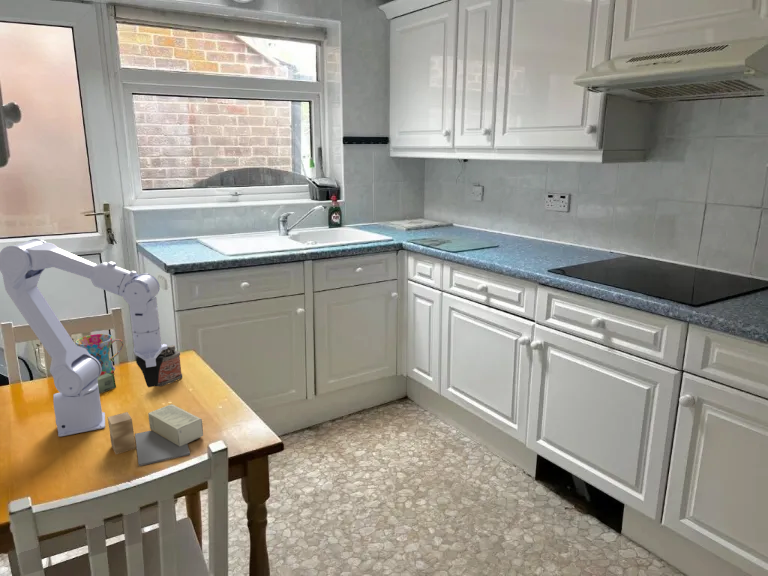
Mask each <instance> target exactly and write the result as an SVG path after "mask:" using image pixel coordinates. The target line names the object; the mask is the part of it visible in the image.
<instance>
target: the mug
mask: <svg viewBox="0 0 768 576" xmlns="http://www.w3.org/2000/svg"><path fill="white" fill-rule="evenodd" d="M117 341H119V342H120V343H121V345H120V348H119V350H118V351H117V352H116V353H115V354H114V355H113V356H112V357H111V356H110V355H111V354H110V352H111V351H110V350H111V348H112V344H113V343H114V342H117ZM74 343H75V345H76V346H79V347H82V348H85V349H86V350H87V351H88V352H89V354H90V355H91V356H93V357H94V358H96V359H97V360H98V361H99V362H100V364H101V367H102V371H101V374H100V376H101V375H103V374H106V373H112V374H114V372H115V370H116V367H115V366H114V365H113V363H112V362H115V360H114V358H115V357H117V356H118V355H119V354H120V353H121V351H122V350H123V348H124V342H123V340H122V339H119V338H115V339H113V336H112V335H111V334H108V333H95V334H89V335H85V336H82V337H80V338H78V339H76V340H75V342H74Z"/></svg>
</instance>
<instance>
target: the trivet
mask: <svg viewBox="0 0 768 576" xmlns="http://www.w3.org/2000/svg"><path fill="white" fill-rule="evenodd" d="M134 439H135V447H136V454H137V462H138V467H142V466H147V465H150V464H155V463H159V462H163V461H169V460H172V459H177V458H182V457H185V456H190V455H191V452H190V448H189V445H188V444H189V443H187V444H185V445H182V446H178V445H176V444H174V443H173V442H171V441H169V440H167V439H166V438H164V437H162V436H161V435H159V434H157V433H155V432H154V431H152V430H146V431H142V432H138V433H137V432H136V433H134Z"/></svg>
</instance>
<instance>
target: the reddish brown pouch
mask: <svg viewBox="0 0 768 576" xmlns="http://www.w3.org/2000/svg"><path fill="white" fill-rule="evenodd" d="M161 352H162V356H163V362H162V364H161V366H160V370H159V379H158V385H157V386H156V387H162V386H166V385H168V384H172V383H174V381H175V382H177V381H178V379H179V380H181V379H183V373H182V369H181V368H182V366H181V365H182V364H181V357H180V356H181V352H180V351H179V350H176V345H175V344H171V345H167V349H165V350H162V351H161ZM180 378H181V379H180ZM176 380H177V381H176Z"/></svg>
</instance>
